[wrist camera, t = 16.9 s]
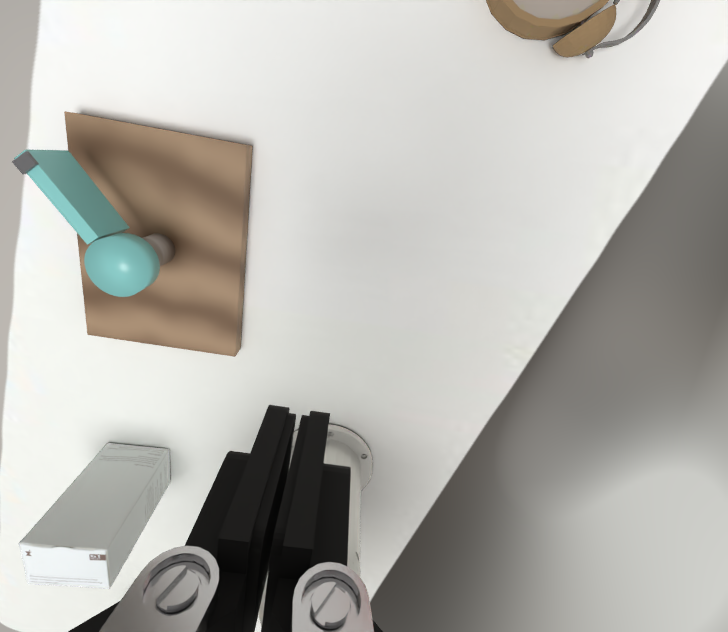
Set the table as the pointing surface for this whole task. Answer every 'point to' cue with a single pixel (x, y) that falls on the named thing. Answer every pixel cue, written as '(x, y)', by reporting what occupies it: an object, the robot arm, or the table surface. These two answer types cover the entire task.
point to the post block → (170, 231)
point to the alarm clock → (563, 22)
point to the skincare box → (97, 518)
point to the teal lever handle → (93, 223)
